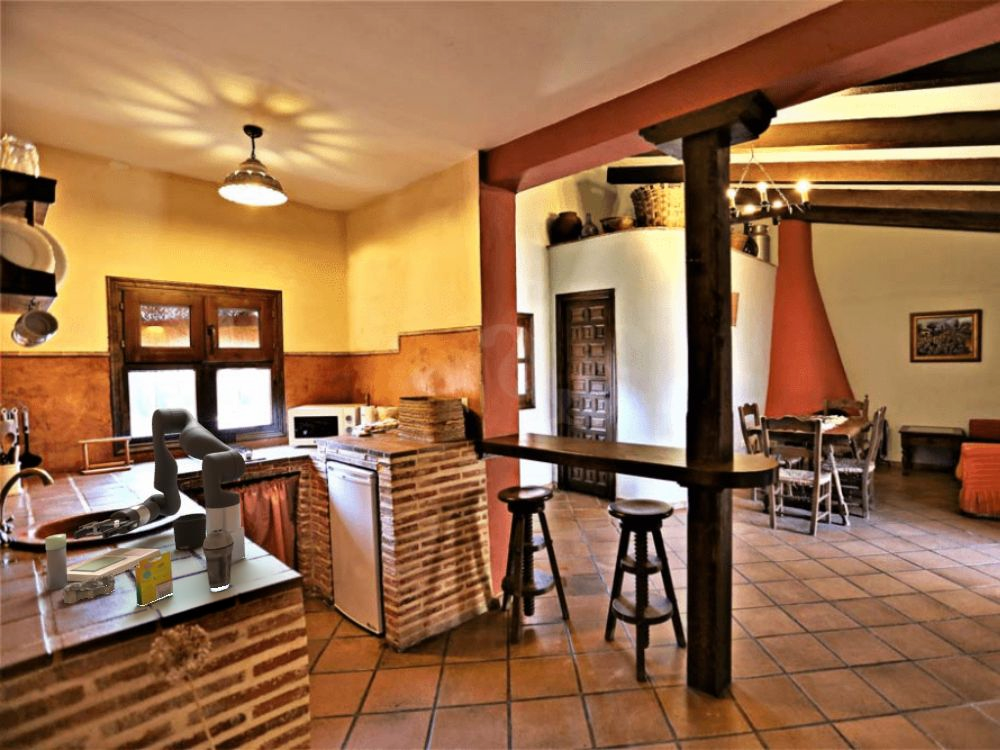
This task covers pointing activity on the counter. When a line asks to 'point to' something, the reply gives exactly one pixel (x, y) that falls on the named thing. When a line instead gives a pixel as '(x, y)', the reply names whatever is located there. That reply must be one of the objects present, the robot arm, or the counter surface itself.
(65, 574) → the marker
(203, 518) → the pen holder
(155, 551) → the drawing board
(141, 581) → the crayon box
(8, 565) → the counter surface
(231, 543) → the beverage cup
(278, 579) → the counter surface
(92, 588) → the egg carton
